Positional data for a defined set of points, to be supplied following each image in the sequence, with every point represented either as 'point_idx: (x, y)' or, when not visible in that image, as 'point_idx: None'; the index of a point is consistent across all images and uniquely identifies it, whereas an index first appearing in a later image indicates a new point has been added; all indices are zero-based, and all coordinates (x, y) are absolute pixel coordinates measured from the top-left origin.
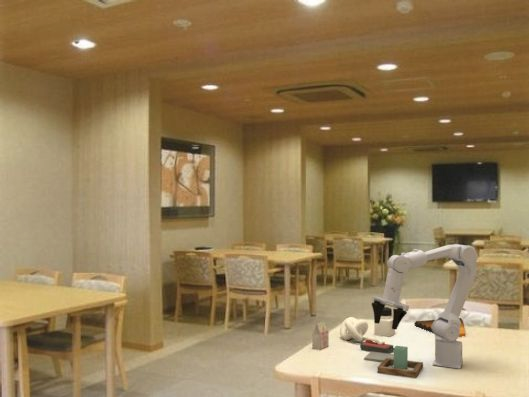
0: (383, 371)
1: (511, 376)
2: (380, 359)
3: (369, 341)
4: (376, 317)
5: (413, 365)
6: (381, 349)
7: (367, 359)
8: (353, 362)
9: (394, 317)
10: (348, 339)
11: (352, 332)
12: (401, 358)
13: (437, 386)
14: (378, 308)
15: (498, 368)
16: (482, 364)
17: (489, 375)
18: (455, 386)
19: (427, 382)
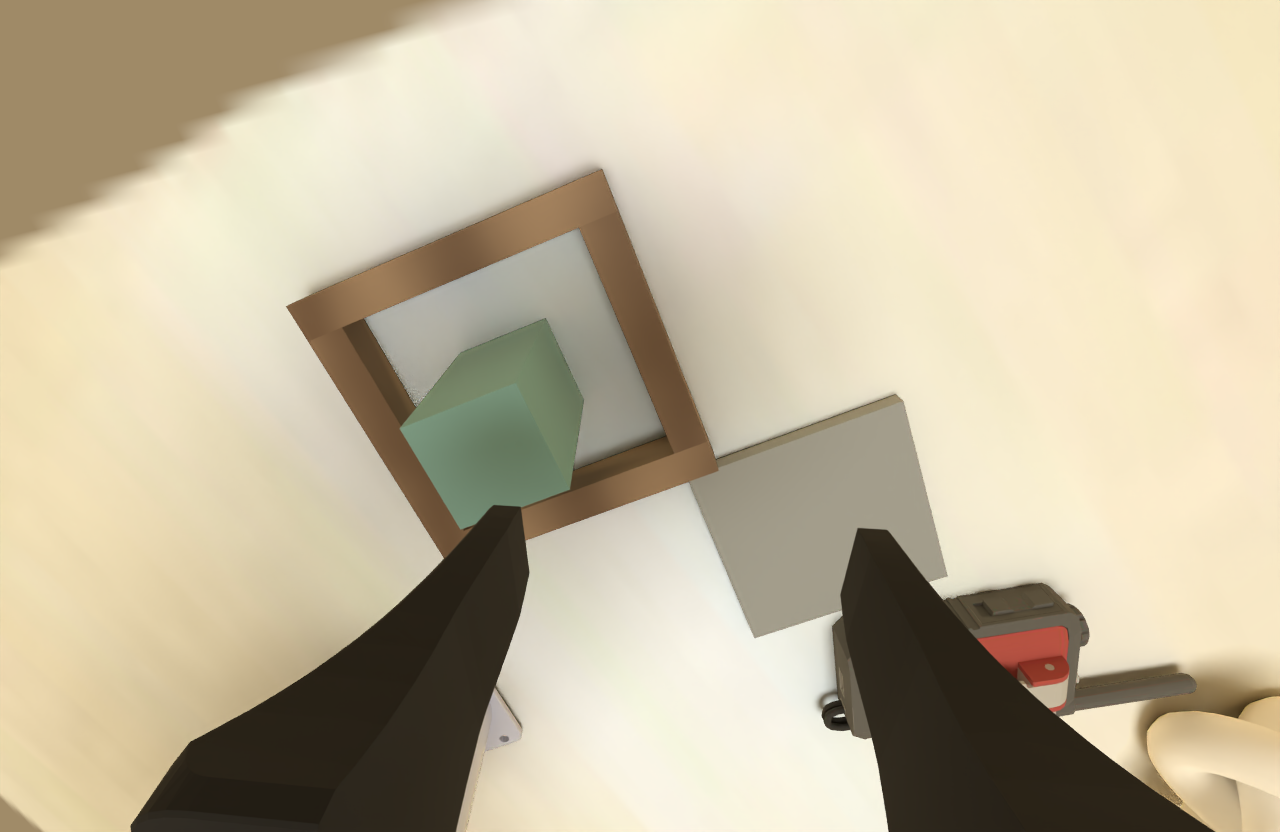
0: (550, 191)
1: (39, 760)
2: (774, 458)
3: (1033, 672)
4: (887, 603)
5: None
6: None
7: (870, 407)
8: (931, 269)
9: (407, 646)
10: (1246, 706)
11: (1258, 739)
12: (461, 380)
13: (65, 243)
14: (950, 809)
15: None
16: None
17: (112, 697)
18: (8, 350)
19: (183, 273)
